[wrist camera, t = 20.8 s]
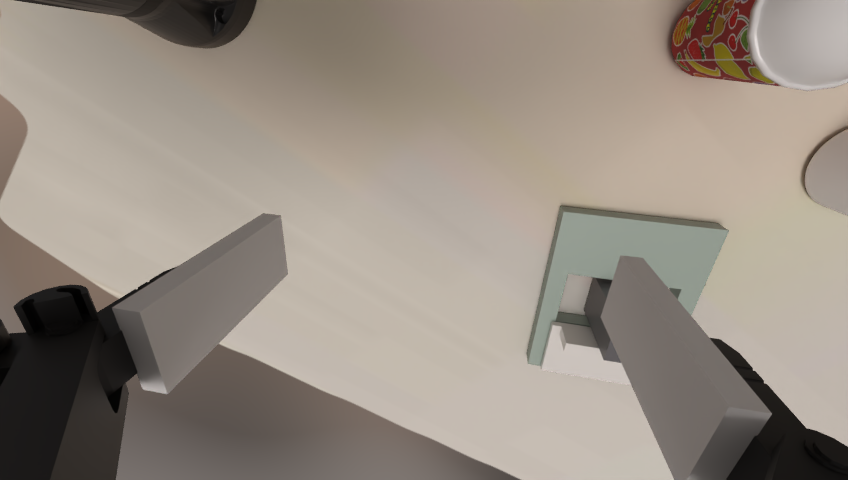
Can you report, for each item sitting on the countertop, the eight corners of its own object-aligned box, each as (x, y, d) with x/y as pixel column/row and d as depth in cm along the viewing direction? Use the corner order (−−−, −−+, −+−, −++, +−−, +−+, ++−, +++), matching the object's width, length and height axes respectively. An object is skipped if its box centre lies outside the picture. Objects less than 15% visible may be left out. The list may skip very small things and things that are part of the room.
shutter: (551, 321, 44) (556, 341, 40) (667, 338, 42) (683, 361, 38) (540, 365, 46) (544, 388, 43) (648, 384, 45) (661, 409, 41)
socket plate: (560, 205, 40) (563, 211, 38) (718, 223, 38) (729, 230, 36) (526, 353, 49) (527, 363, 47) (653, 374, 47) (659, 386, 45)
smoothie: (729, -48, 30) (1094, -245, 12) (784, 32, 31) (1186, -33, 13) (635, 37, 33) (805, -14, 15) (689, 106, 34) (902, 135, 16)
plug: (593, 274, 43) (623, 333, 33) (638, 280, 42) (683, 341, 32) (583, 309, 45) (609, 374, 35) (626, 315, 44) (664, 383, 34)
